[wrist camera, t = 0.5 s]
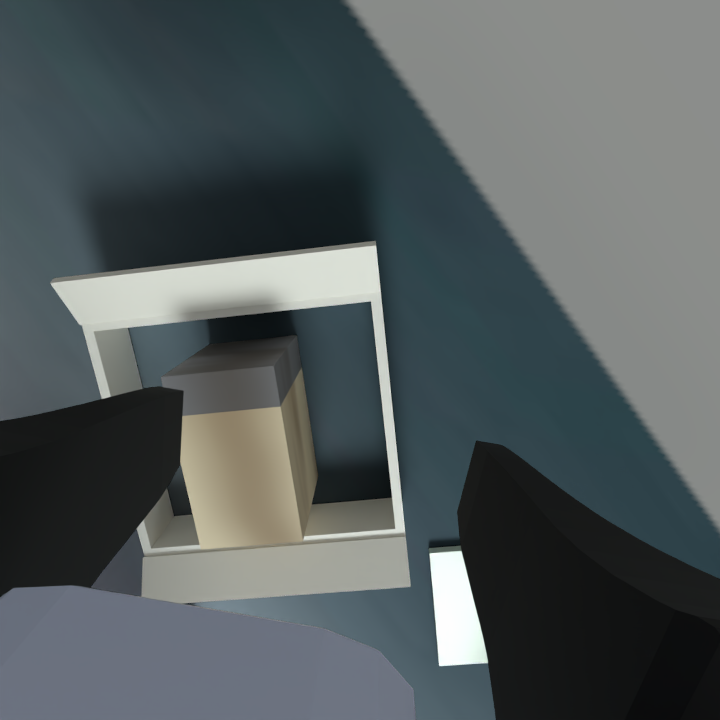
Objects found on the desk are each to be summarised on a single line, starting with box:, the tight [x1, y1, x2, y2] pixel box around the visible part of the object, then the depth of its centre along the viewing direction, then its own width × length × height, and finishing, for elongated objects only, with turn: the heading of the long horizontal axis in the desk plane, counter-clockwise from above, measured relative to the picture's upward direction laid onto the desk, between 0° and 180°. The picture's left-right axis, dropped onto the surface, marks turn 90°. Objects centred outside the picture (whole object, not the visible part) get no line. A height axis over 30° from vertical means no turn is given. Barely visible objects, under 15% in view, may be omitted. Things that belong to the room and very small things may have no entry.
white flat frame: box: [50, 241, 411, 604], centre depth 20 cm, size 12×14×4 cm
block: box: [161, 335, 318, 549], centre depth 20 cm, size 4×7×5 cm, turn 6°
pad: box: [429, 546, 488, 666], centre depth 24 cm, size 7×7×1 cm
